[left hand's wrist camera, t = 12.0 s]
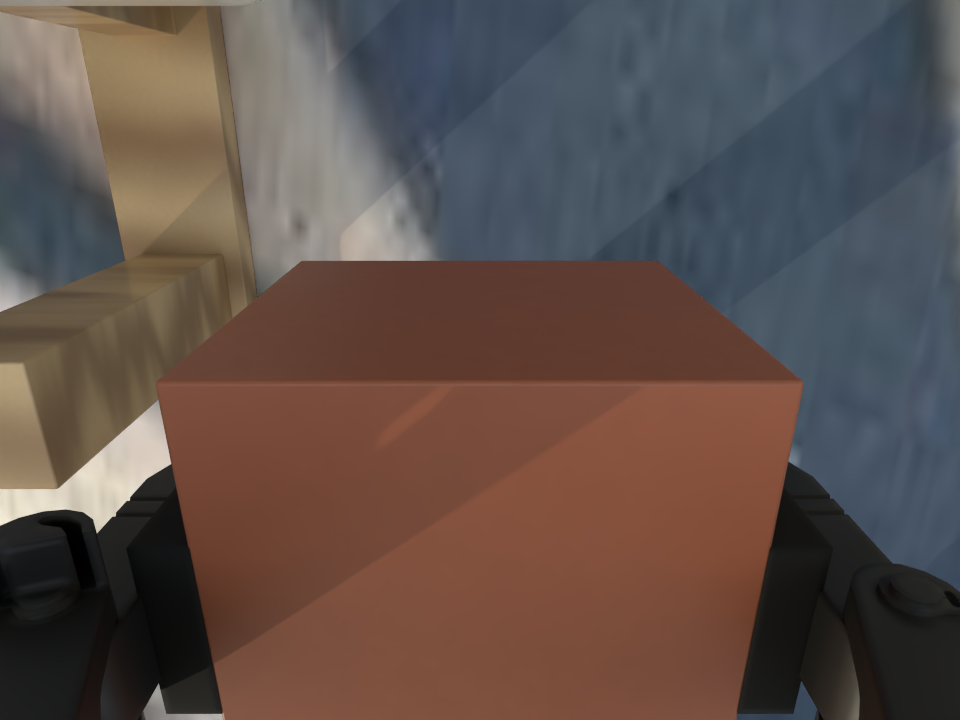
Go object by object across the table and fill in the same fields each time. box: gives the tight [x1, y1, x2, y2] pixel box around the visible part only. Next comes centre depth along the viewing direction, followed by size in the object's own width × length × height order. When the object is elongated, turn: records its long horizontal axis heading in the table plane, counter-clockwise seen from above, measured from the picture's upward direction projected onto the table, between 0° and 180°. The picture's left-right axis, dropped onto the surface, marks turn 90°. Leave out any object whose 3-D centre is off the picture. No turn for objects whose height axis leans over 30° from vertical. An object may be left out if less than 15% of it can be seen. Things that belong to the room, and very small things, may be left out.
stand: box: [0, 6, 257, 489], centre depth 29 cm, size 26×7×20 cm, turn 0°
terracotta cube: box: [156, 261, 803, 720], centre depth 11 cm, size 7×7×6 cm
